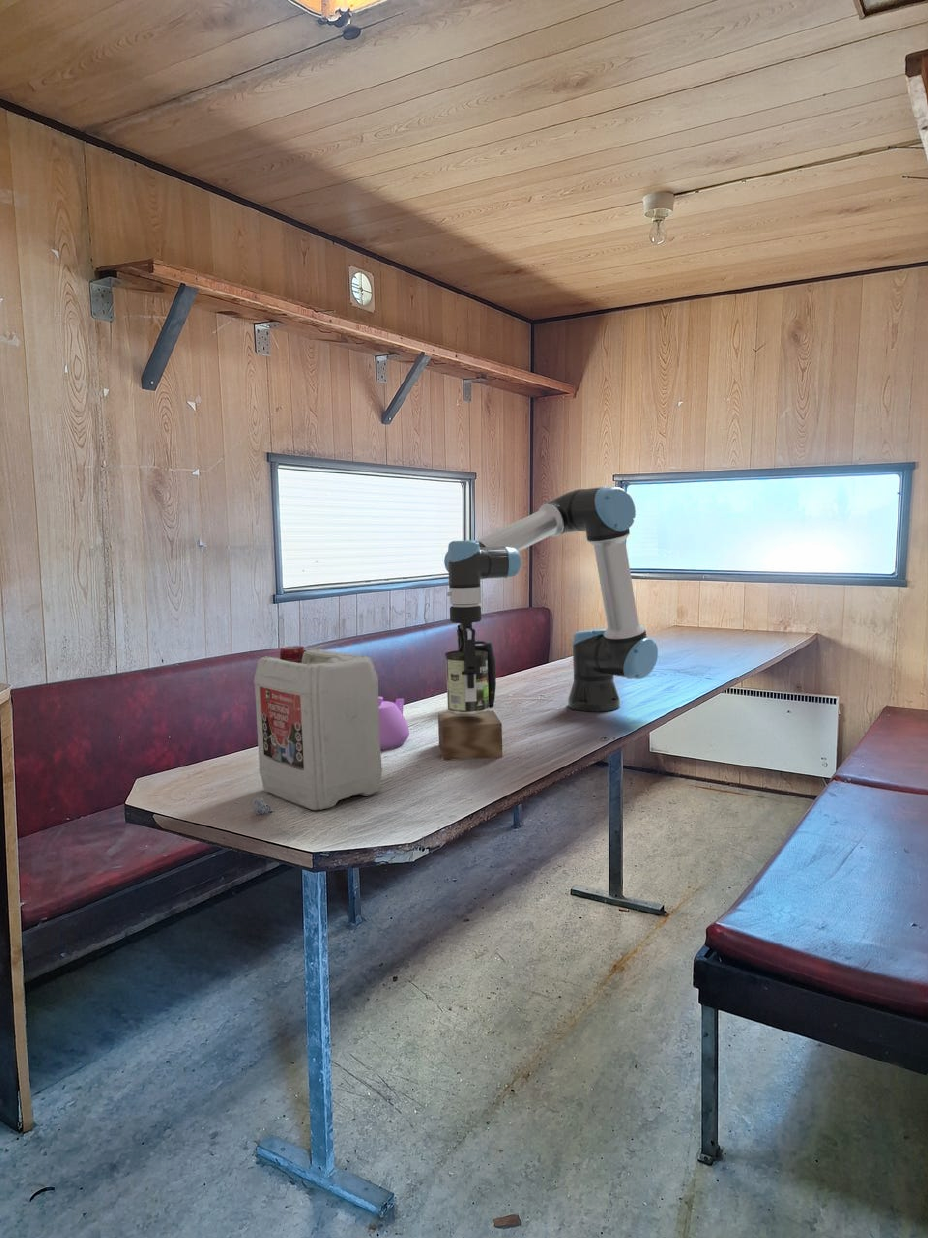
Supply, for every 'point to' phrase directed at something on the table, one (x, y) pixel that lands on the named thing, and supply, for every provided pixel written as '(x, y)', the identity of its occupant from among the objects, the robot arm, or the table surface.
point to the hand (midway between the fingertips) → (468, 696)
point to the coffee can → (457, 683)
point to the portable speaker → (489, 668)
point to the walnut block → (469, 735)
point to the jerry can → (318, 726)
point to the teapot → (392, 724)
